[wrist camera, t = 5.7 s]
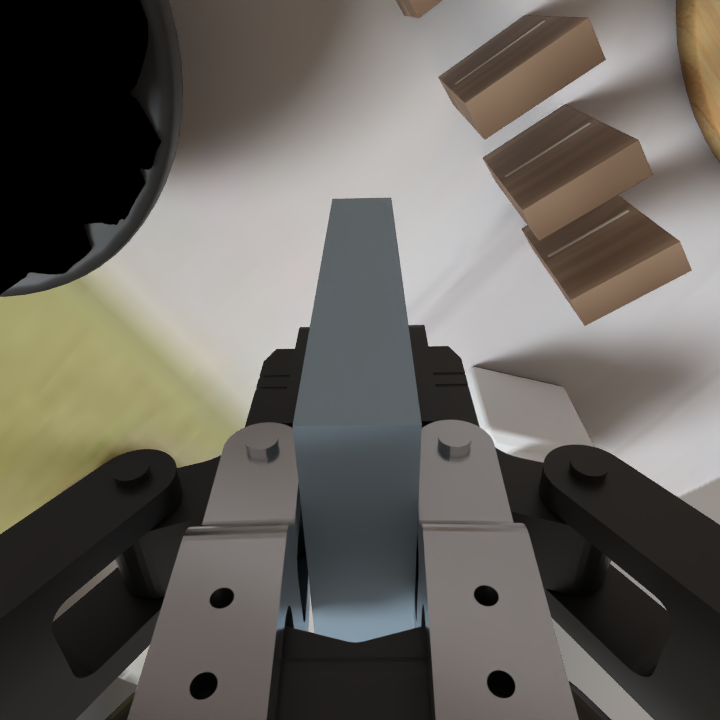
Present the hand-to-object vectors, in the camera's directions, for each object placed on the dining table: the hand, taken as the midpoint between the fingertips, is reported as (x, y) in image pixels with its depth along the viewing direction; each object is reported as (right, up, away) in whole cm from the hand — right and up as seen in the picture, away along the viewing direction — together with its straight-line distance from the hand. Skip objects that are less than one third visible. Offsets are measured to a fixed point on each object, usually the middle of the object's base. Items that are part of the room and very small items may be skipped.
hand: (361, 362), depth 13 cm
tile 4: (+9, +12, +19) cm, 25 cm away
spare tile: (0, +2, +4) cm, 5 cm away
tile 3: (+7, +16, +17) cm, 24 cm away
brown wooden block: (+12, +9, +21) cm, 26 cm away
